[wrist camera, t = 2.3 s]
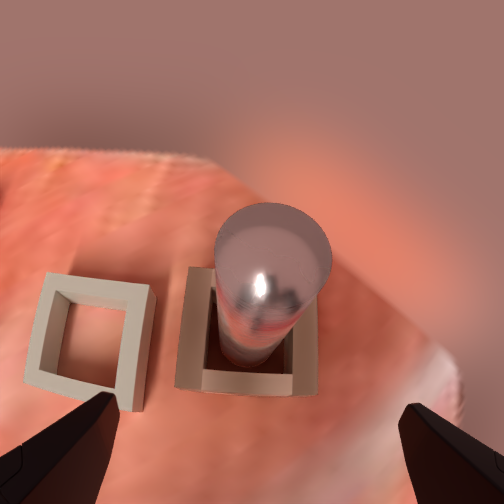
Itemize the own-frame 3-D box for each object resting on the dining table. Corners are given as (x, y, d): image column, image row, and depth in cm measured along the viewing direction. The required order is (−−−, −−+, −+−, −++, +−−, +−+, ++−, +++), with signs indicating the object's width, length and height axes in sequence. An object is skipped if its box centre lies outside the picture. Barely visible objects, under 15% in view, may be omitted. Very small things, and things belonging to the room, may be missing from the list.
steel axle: (284, 346, 21) (354, 263, 10) (241, 378, 19) (264, 333, 8) (252, 305, 22) (281, 186, 11) (208, 334, 20) (191, 237, 10)
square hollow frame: (156, 298, 21) (149, 284, 19) (142, 412, 18) (131, 411, 15) (61, 285, 21) (47, 272, 19) (41, 387, 17) (22, 382, 15)
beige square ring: (305, 293, 22) (316, 276, 20) (305, 397, 19) (318, 394, 16) (192, 285, 22) (188, 266, 19) (181, 390, 19) (174, 386, 16)
